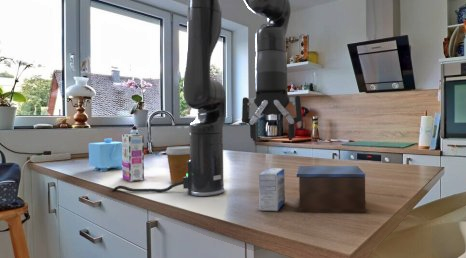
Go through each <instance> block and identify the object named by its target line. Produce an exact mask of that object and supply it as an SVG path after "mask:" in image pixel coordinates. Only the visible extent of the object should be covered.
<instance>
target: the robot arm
mask: <svg viewBox="0 0 466 258" xmlns="http://www.w3.org/2000/svg"><path fill="white" fill-rule="evenodd" d="M243 1H244V3H245V5H246V6H247V8H248V9H249V10H250V11H251V12H252V13H254V14H255V15H257V16H259V17H261V18H265V19H267V24H266V25H263V26H261V27H259V28H258V29H257V30H256V33H255V63H254V65H255V66H254V72H255V96H254V97H243V98H242V101H241V103H242V106H241V107H242V108H241V122H242V123H246V124H248V125H249V130H250V131H249V136H250V139H252V141H253V142H257V141H258V125H257V123H258V122H259V120H260V119H261V118H262V117H263V115H265V116H271V115H275V116H279V115H282V116H283V117H284V118H285V119H286V121H287V122H288V123H289V124H288V125H287V126H288V141H293V138H294V139H295V138H296V137H295V136H296V126H295V125H296V123H299V122H302V121H303V109H302V99H301V96H299V95H295V96H290V97H289V94H288V61H287V54H286V34H287V32H288V31H287V30H288V28H289V27H288V26H289V23H290V18H291V14H292V13H291V12H292V4H291V0H243ZM186 17H187V20H186V21H187V37H186V38H187V39H186V58H185V60H186V61H185V66H184V67H185V69H184V77H183V83H182V84H183V85H182V96H183V100H184V102H185V104H186V105H187V106H188V107H189V108H190V109H193V110H197V116H196V118H195V120H194V121H193V122H191V123H190V124H189V146H190V160H189V161H188V162H187V172H188V174H187V176H186V177H184V178H183V181H180V182H177V183H171V184H170V185H169V186H168V187H166V188H132V187H129V186H126V185H117V186H115V187H114V188H112V190H111V192H113V193H114V192H116V191H117V190H120V189H122V190H125V191H128V192H131V193H165V192H168V191H171V190H172V189H173V188H175V187H178V186H181V185H182V186H183V187H182V189H183V190H187V195H189V196H196V197H210V196H216V195H220V194H223V193H224V191H225V187H224V186H225V184H224V182H225V181H224V135H223V132H224V131H223V129H224V126H225V124H226V123H225V122H226V109H227V107H226V103H227V96H226V89H225V87H224V85H223V84H222V83H221V82H220V81H219V80H217V79H214V78H211V60H212V55H213V53H214V50H215V48H216V46H217V44H218V42H219V40H220V37H221V34H222V33H221V32H222V18H223V17H222V6H221V2H220V0H187V16H186ZM289 103H291V104H292V106H294V107H295V114H296V116H295V117H293V116H292V115H291V114H290V112H289V111H288V110H287V106H288V105H289ZM253 104H255V106H256V107H257V109H256V111H255V112H254V114H253V116H252V117H251V118H250V108H252V106H253Z"/></svg>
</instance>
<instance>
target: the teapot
mask: <svg viewBox="0 0 466 258" xmlns="http://www.w3.org/2000/svg"><path fill="white" fill-rule="evenodd" d="M103 141H104V142H103ZM103 141H102V142H101V141H100V142H88V166H90V167H93V168H94V169H93V170H94V171H99V172H108V168H110V169H116V170H122V141H113V138H111V137H110V138H104V140H103Z"/></svg>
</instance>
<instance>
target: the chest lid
mask: <svg viewBox="0 0 466 258" xmlns="http://www.w3.org/2000/svg"><path fill="white" fill-rule="evenodd" d="M299 177H365V178H366V173H365V172H364V171H363V170H362V169H361V168H360V167H359V166H358V165H299V166H298V169H297V172H296V178H299Z"/></svg>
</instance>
